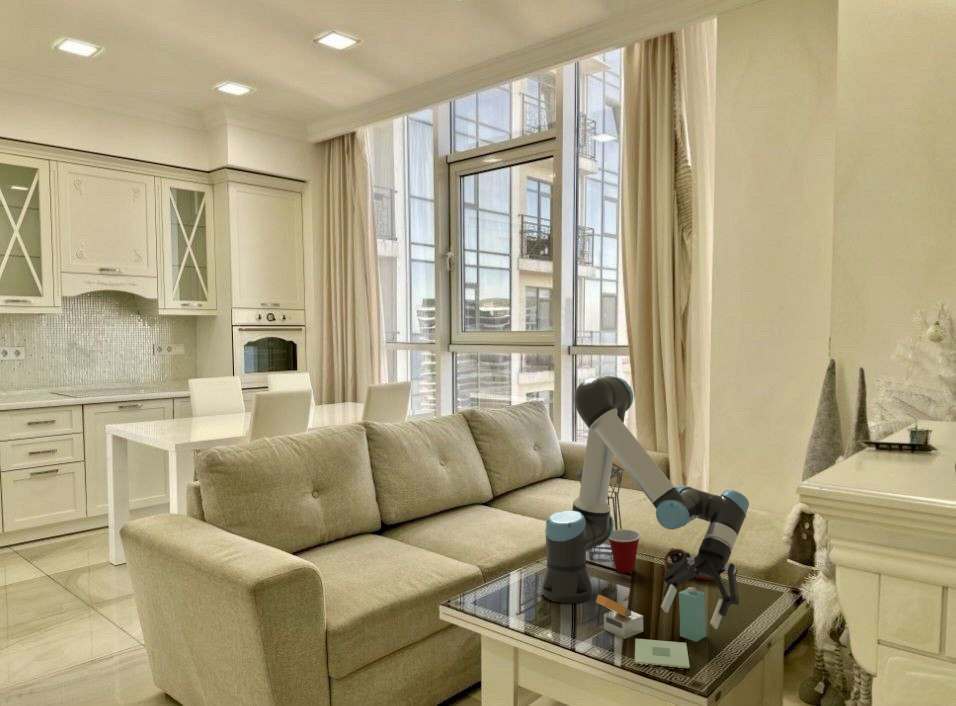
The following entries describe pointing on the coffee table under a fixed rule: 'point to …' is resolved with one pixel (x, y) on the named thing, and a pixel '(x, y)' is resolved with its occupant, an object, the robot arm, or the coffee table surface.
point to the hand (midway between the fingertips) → (687, 617)
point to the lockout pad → (661, 653)
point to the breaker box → (623, 624)
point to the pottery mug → (673, 558)
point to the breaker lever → (613, 606)
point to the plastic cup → (624, 549)
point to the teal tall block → (692, 614)
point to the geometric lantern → (609, 505)
